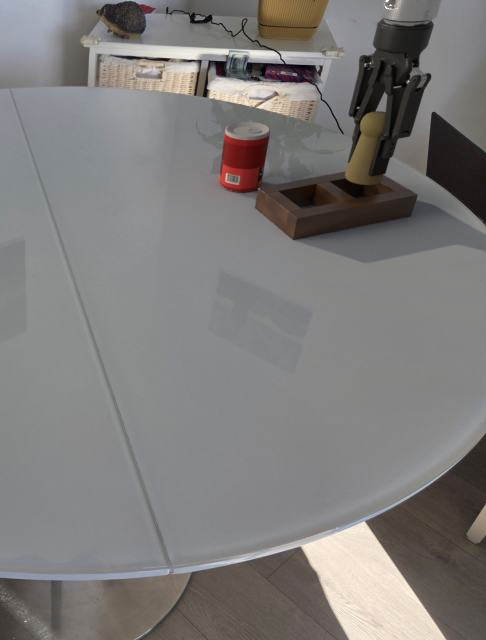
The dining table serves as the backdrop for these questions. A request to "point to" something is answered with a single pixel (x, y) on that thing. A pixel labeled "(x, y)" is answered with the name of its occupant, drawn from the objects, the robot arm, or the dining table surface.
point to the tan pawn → (366, 150)
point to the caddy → (332, 204)
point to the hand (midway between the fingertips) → (366, 167)
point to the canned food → (244, 156)
